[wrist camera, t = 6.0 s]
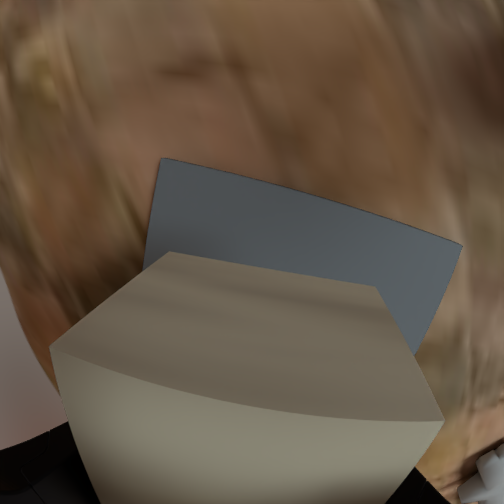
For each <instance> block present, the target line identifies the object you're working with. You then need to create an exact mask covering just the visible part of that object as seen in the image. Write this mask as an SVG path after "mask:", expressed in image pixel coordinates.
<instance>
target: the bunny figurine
mask: <svg viewBox="0 0 504 504" xmlns="http://www.w3.org/2000/svg"><path fill="white" fill-rule="evenodd" d="M476 466H477V468H478V470H479V472H478V473H476V474H475V475H474V476H473V477H471V478H470V479H469V480H467V481H466V482H465V483H463V484H462V485H461V486H459V487H458V489H457V491H458V494H459V497H460V500H461V503H462V504H464V503H470V502H476V501H478V504H504V444H502V445H500V446H499V447H498V449H496V450H492V451H490V452H488V453H487V454H485V455H483V456H481V457H479V459H478V460H476Z"/></svg>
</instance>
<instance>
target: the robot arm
mask: <svg viewBox="0 0 504 504" xmlns="http://www.w3.org/2000/svg"><path fill="white" fill-rule="evenodd" d="M0 504H101V503H100V501H99V499H98V496H97V494H96V492H95V490H94V488H93V485H92V483H91V481H90V478H89V476H88V474H87V471H86V469H85V466H84V464H83V461H82V459H81V456H80V454H79V451H78V448H77V445H76V443H75V440H74V437H73V434H72V431H71V428H70V425H69V422H66V423H63V424H62V425H60V426H57V427H55V428H53V429H51V430H50V431H47V432H45V433H43V434H41V435H39V436H36V437H34V438H32V439H30V440H27V441H25V442H23V443H20V444H17V445H14V446H12V447H9V448H5V449H3V450H0ZM384 504H451V503H450V502H448V501H447V500H446V499H445V498H444V497H443V496H442V495H441V494H440V493H439V492H438V491H437V490H436V489H435V488H434V487H433V486H432V485H431V484H430V482H429V481H426V478H425V477H424V476H423V475H422V474H421V473H420V472H419V471H418V470H417V468H416V467H415V466H414V468H413V469H412V470H411V472H410V473H409V474H408V475H407V477H406V478H405V479H404V481H403V482H402V483H401V484H400V486H399V487H398V488H397V489H396V490H395V492H394V493H393V494H392V495H391V496H390V498H389V499H388V500H387V501H386V502H385V503H384Z"/></svg>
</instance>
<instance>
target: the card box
mask: <svg viewBox="0 0 504 504" xmlns="http://www.w3.org/2000/svg"><path fill="white" fill-rule="evenodd" d="M49 349H50V354H51V359H52V363H53V368H54V372H55V376H56V380H57V384H58V388H59V392H60V395H61V399H62V402H63V406H64V409H65V412H66V416H67V419H68V422H69V425H70V428H71V431H72V434H73V437H74V440H75V443H76V445H77V448H78V451H79V454H80V456H81V459H82V461H83V464H84V466H85V469H86V471H87V474H88V476H89V478H90V481H91V483H92V485H93V488H94V490H95V492H96V494H97V496H98V499H99V501H100V503H101V504H384V503H385V502H386V501H387V500H388V499H389V498H390V496H391V495H392V494H393V493H394V492H395V490H396V489H397V488H398V487H399V486H400V484H401V483H402V482H403V481H404V479H405V478H406V477H407V475H408V474H409V473H410V472H411V470H412V469H413V468H414V466H415V465H416V464H417V462H418V461H419V459H420V458H421V457H422V455H423V454H424V452H425V451H426V450H427V448H428V447H429V445H430V444H431V442H432V441H433V439H434V438H435V436H436V435H437V433H438V432H439V430H440V429H441V427H442V425H443V424H444V422H445V419H444V417H443V415H442V413H441V411H440V409H439V406H438V404H437V402H436V400H435V398H434V396H433V394H432V392H431V390H430V388H429V385H428V383H427V381H426V379H425V377H424V375H423V373H422V371H421V369H420V367H419V365H418V363H417V362H416V360H415V358H414V356H413V354H412V352H411V350H410V348H409V346H408V344H407V342H406V341H405V339H404V337H403V335H402V333H401V331H400V329H399V328H398V326H397V324H396V322H395V320H394V319H393V317H392V315H391V313H390V311H389V310H388V308H387V306H386V304H385V303H384V301H383V299H382V297H381V296H380V294H379V292H378V290H377V289H376V287H375V286H369V285H363V284H356V283H350V282H344V281H338V280H332V279H326V278H320V277H314V276H308V275H302V274H296V273H290V272H284V271H278V270H273V269H267V268H261V267H255V266H249V265H244V264H238V263H232V262H226V261H221V260H215V259H209V258H204V257H198V256H193V255H187V254H181V253H176V252H170V251H169V252H168V253H166V254H165V255H164V256H162V257H161V258H160V259H158V260H157V261H156V262H154V263H153V264H152V265H150V266H149V267H148V268H146V269H145V270H144V271H143V272H141V273H140V274H139V275H137V276H136V277H135V278H133V279H132V280H131V281H129V282H128V283H127V284H126V285H124V286H123V287H122V288H120V289H119V290H118V291H117V292H115V293H114V294H113V295H111V296H110V297H109V298H108V299H106V300H105V301H104V302H103V303H101V304H100V305H99V306H98V307H96V308H95V309H94V310H93V311H91V312H90V313H89V314H88V315H86V316H85V317H84V318H83V319H81V320H80V321H79V322H78V323H76V324H75V325H74V326H73V327H72V328H70V329H69V330H68V331H67V332H65V333H64V334H63V335H62V336H61V337H59V338H58V339H57V340H56V341H55V342H53V343H52V344H51V345H50V346H49Z"/></svg>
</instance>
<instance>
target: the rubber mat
mask: <svg viewBox="0 0 504 504" xmlns="http://www.w3.org/2000/svg"><path fill="white" fill-rule="evenodd" d="M462 247H463V246H462V245H460V244H459V243H456V242H453V241H451V240H448V239H445V238H443V237H440V236H437V235H434V234H432V233H429V232H426V231H423V230H421V229H418V228H415V227H412V226H409V225H406V224H403V223H401V222H398V221H395V220H392V219H389V218H386V217H383V216H380V215H377V214H374V213H371V212H367V211H364V210H361V209H358V208H355V207H352V206H349V205H345V204H342V203H339V202H335V201H332V200H329V199H326V198H322V197H319V196H315V195H312V194H308V193H305V192H301V191H298V190H294V189H291V188H287V187H284V186H280V185H276V184H272V183H269V182H265V181H261V180H257V179H253V178H250V177H246V176H242V175H238V174H234V173H230V172H226V171H221V170H217V169H213V168H209V167H204V166H200V165H196V164H191V163H187V162H182V161H178V160H173V159H168V158H161V162H160V167H159V172H158V177H157V182H156V187H155V192H154V198H153V204H152V209H151V215H150V221H149V228H148V234H147V241H146V248H145V255H144V262H143V270H142V272H143V271H144V270H145V269H146V268H148V267H149V266H150V265H152V264H153V263H154V262H156V261H157V260H158V259H160V258H161V257H162V256H164V255H165V254H166V253H168V252H169V251H170V252H176V253H181V254H187V255H193V256H198V257H204V258H209V259H215V260H221V261H226V262H232V263H238V264H244V265H249V266H255V267H261V268H267V269H273V270H278V271H284V272H290V273H296V274H302V275H308V276H314V277H320V278H326V279H332V280H338V281H344V282H350V283H356V284H363V285H369V286H375V287H376V289H377V290H378V292H379V294H380V296H381V297H382V299H383V301H384V303H385V304H386V306H387V308H388V310H389V311H390V313H391V315H392V317H393V319H394V320H395V322H396V324H397V326H398V328H399V329H400V331H401V333H402V335H403V337H404V339H405V341H406V342H407V344H408V346H409V348H410V350H411V352H412V354H413V356H414V355H415V353H416V352H417V350H418V348H419V346H420V344H421V342H422V340H423V338H424V336H425V334H426V332H427V330H428V328H429V326H430V324H431V322H432V320H433V317H434V315H435V313H436V311H437V309H438V307H439V304H440V302H441V300H442V298H443V295H444V293H445V291H446V288H447V286H448V283H449V281H450V279H451V276H452V274H453V271H454V268H455V266H456V263H457V261H458V258H459V255H460V252H461V250H462Z"/></svg>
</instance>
